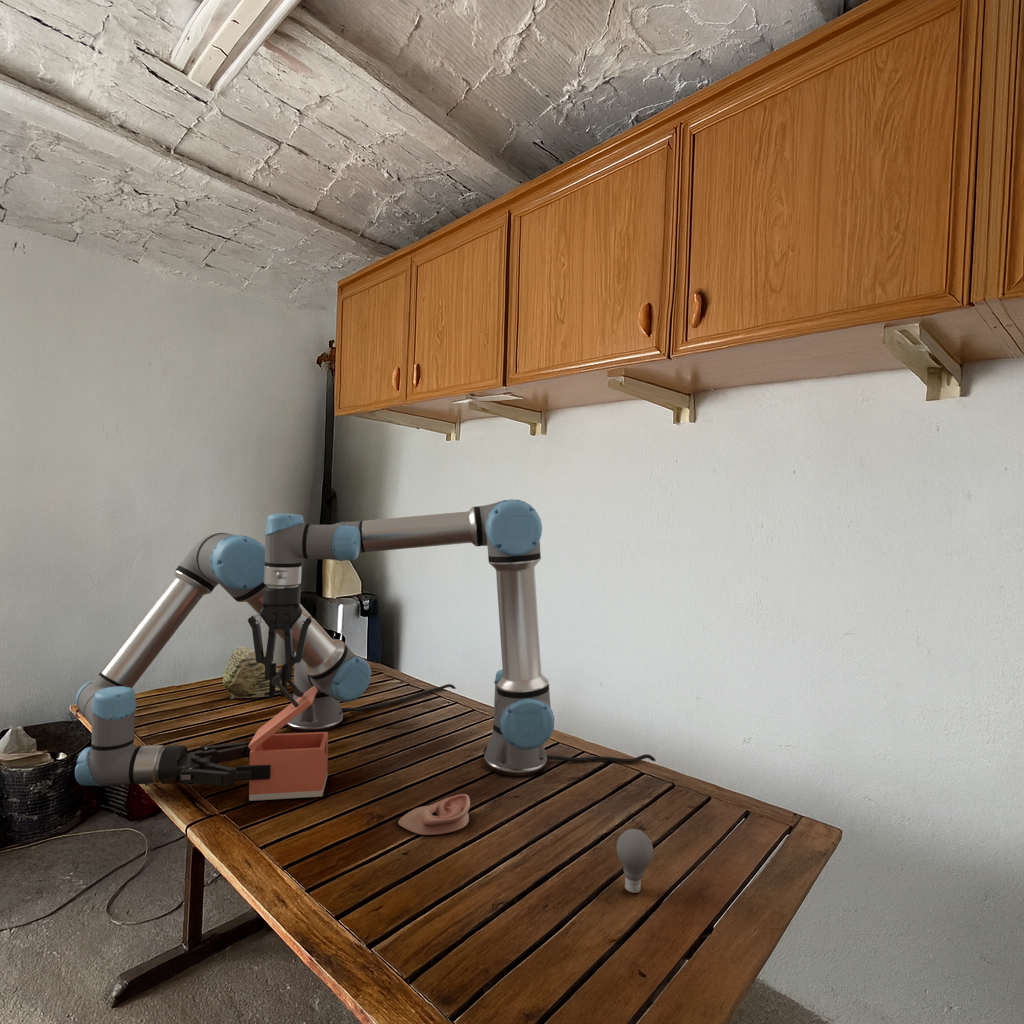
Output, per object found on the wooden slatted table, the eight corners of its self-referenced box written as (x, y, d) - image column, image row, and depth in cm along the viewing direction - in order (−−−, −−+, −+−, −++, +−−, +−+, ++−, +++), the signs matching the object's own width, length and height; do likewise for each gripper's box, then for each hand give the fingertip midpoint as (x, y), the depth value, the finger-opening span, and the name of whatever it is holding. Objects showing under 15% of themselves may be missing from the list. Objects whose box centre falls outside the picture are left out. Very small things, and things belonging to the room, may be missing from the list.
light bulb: (610, 879, 108) (613, 822, 108) (644, 879, 109) (647, 822, 109) (619, 902, 102) (622, 840, 102) (655, 901, 103) (658, 840, 103)
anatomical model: (392, 810, 121) (414, 784, 132) (391, 830, 121) (413, 803, 132) (459, 820, 118) (475, 792, 130) (458, 841, 118) (474, 812, 130)
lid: (317, 689, 142) (291, 658, 141) (312, 703, 133) (284, 670, 131) (261, 733, 140) (234, 702, 139) (251, 751, 131) (222, 717, 129)
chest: (327, 776, 143) (328, 731, 143) (322, 796, 133) (323, 748, 133) (259, 779, 140) (259, 734, 140) (248, 800, 131) (249, 752, 131)
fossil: (218, 695, 195) (220, 647, 195) (278, 685, 208) (279, 640, 207) (228, 703, 189) (230, 653, 188) (289, 692, 201) (290, 645, 201)
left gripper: (180, 760, 143) (283, 757, 147) (140, 808, 121) (263, 803, 125) (181, 727, 143) (284, 725, 147) (142, 769, 121) (264, 766, 125)
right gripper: (241, 587, 130) (237, 701, 131) (315, 588, 133) (311, 700, 134) (249, 582, 138) (245, 690, 138) (320, 584, 141) (315, 689, 141)
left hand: (274, 761), depth 136 cm, fingers closed on chest, 10 cm apart
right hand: (277, 694), depth 136 cm, fingers closed on lid, 2 cm apart
